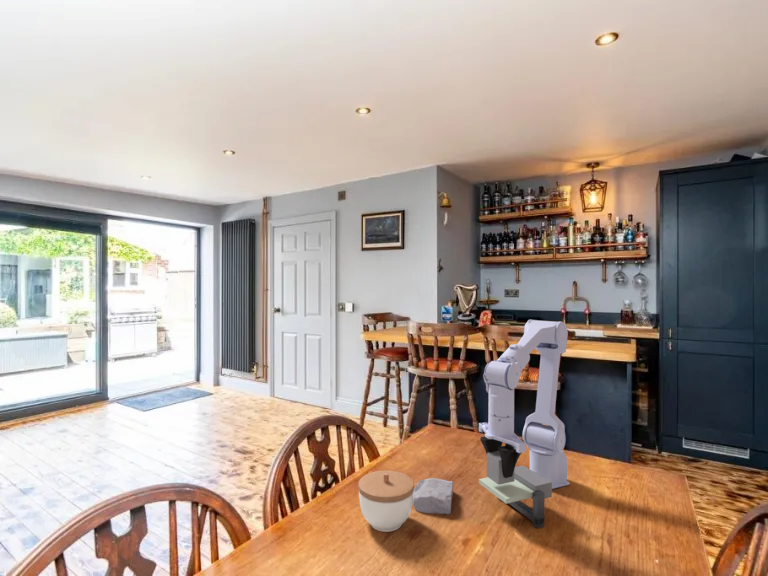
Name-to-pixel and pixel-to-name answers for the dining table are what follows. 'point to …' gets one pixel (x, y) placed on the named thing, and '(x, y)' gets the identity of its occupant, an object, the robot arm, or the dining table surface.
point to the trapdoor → (519, 486)
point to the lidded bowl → (386, 499)
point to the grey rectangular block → (496, 468)
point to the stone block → (433, 496)
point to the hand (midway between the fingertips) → (500, 472)
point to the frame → (536, 512)
